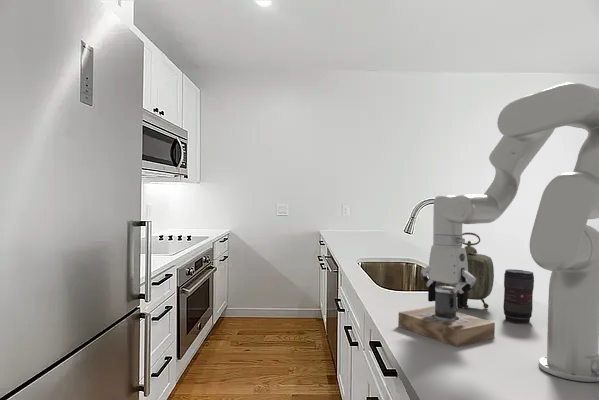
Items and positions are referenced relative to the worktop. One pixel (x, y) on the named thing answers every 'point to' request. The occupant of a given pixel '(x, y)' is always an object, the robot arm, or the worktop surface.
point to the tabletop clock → (478, 273)
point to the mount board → (447, 326)
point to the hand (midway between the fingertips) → (446, 304)
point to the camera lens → (518, 295)
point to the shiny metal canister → (445, 303)
